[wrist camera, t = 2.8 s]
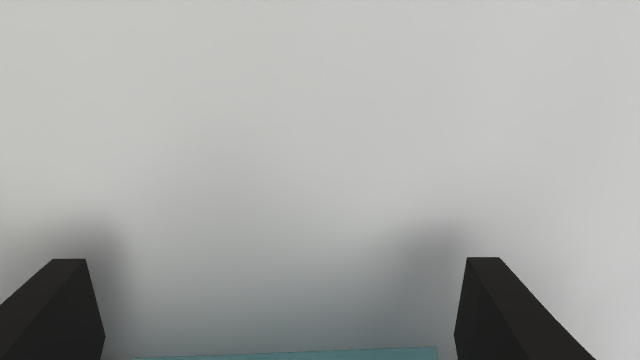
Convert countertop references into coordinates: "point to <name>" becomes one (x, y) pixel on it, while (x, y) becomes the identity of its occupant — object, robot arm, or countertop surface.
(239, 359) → the block
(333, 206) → the countertop surface
